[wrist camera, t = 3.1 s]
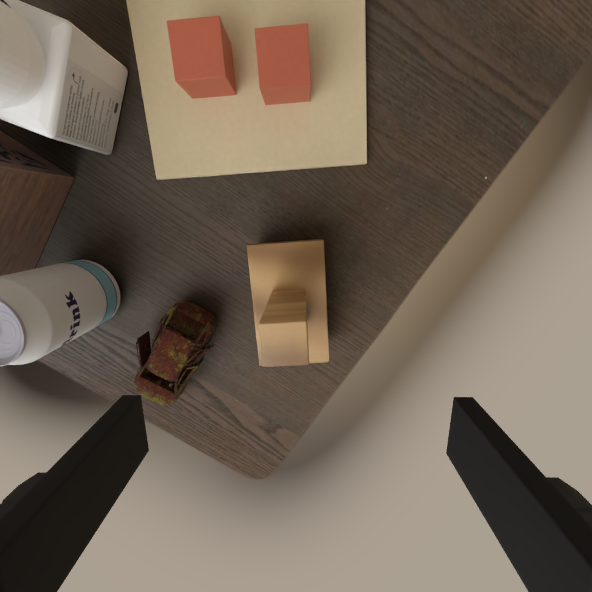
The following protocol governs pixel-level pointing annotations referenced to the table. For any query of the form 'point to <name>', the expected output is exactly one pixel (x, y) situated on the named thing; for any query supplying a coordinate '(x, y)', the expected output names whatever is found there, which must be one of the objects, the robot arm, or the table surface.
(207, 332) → the toy car
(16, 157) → the tissue box cover
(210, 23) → the cube
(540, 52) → the table surface
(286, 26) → the cube
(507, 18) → the table surface
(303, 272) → the brush
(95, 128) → the container
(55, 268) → the beverage can
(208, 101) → the mat
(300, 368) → the table surface
